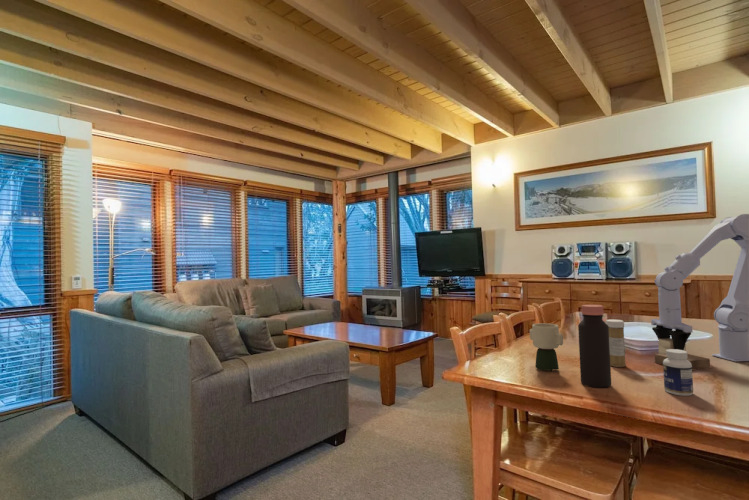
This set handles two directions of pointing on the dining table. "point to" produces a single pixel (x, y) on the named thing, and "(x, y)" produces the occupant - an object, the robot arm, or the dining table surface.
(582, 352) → the vinegar
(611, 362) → the sprinkles bottle
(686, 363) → the pill bottle
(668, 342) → the maple cube
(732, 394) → the dining table surface
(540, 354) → the character mug
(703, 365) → the walnut block
